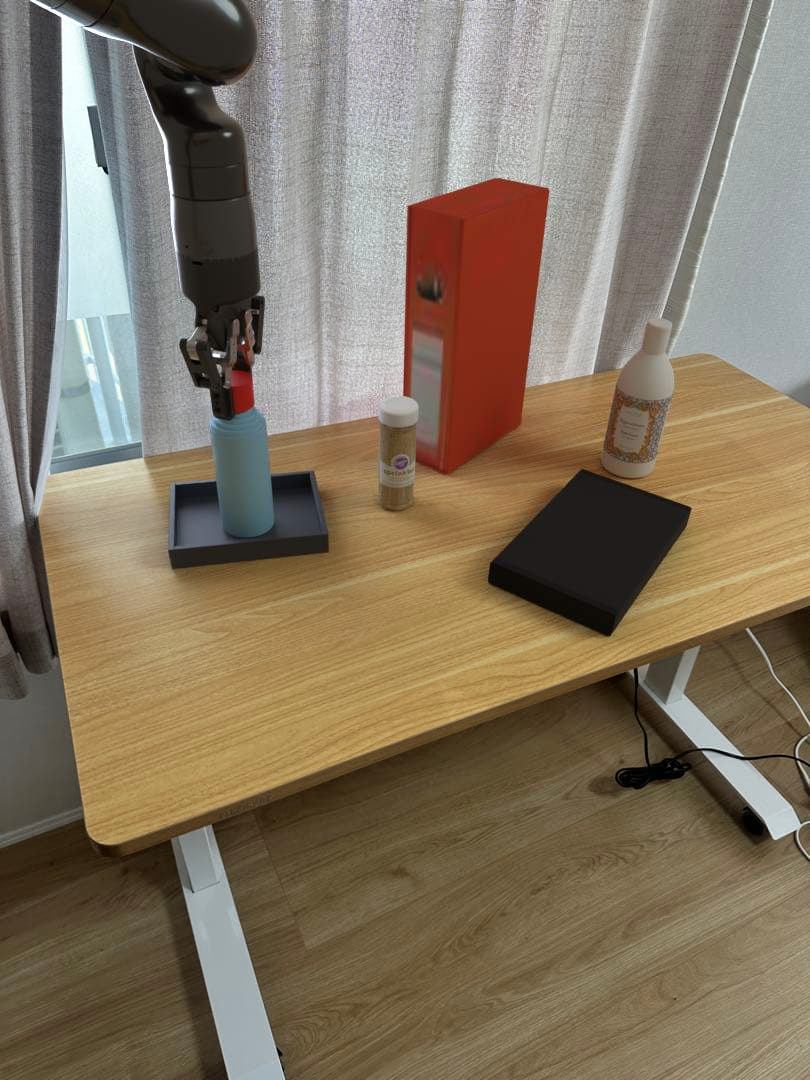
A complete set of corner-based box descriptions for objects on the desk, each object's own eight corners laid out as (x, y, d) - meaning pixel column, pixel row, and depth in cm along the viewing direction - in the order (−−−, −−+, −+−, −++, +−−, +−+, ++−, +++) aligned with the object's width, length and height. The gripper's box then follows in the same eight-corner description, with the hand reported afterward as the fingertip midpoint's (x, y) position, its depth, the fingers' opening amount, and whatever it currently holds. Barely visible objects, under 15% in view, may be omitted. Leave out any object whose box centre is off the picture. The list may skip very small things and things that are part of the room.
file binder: (399, 454, 108) (407, 204, 88) (473, 408, 119) (495, 176, 99) (448, 476, 104) (467, 219, 84) (520, 426, 115) (552, 189, 95)
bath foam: (592, 470, 106) (622, 325, 94) (609, 447, 111) (639, 306, 99) (644, 485, 103) (681, 338, 91) (659, 461, 108) (696, 319, 96)
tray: (171, 569, 87) (168, 550, 86) (173, 500, 98) (170, 482, 96) (329, 552, 91) (328, 533, 89) (314, 487, 101) (314, 470, 99)
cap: (244, 416, 82) (241, 389, 81) (209, 409, 83) (206, 383, 81) (260, 399, 85) (258, 373, 84) (227, 393, 86) (224, 367, 84)
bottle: (222, 540, 91) (204, 397, 80) (221, 510, 95) (203, 371, 85) (276, 534, 92) (265, 393, 81) (272, 505, 96) (260, 367, 86)
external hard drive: (487, 582, 87) (490, 561, 85) (577, 487, 103) (581, 467, 101) (610, 637, 81) (616, 615, 79) (686, 527, 96) (692, 507, 95)
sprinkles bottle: (387, 515, 97) (389, 416, 88) (370, 496, 100) (371, 398, 91) (420, 506, 98) (426, 408, 90) (403, 487, 101) (407, 390, 93)
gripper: (216, 217, 81) (232, 374, 91) (138, 260, 70) (167, 434, 80) (285, 226, 79) (294, 385, 89) (216, 272, 68) (235, 447, 79)
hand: (234, 407), depth 85 cm, fingers closed on cap, 3 cm apart
